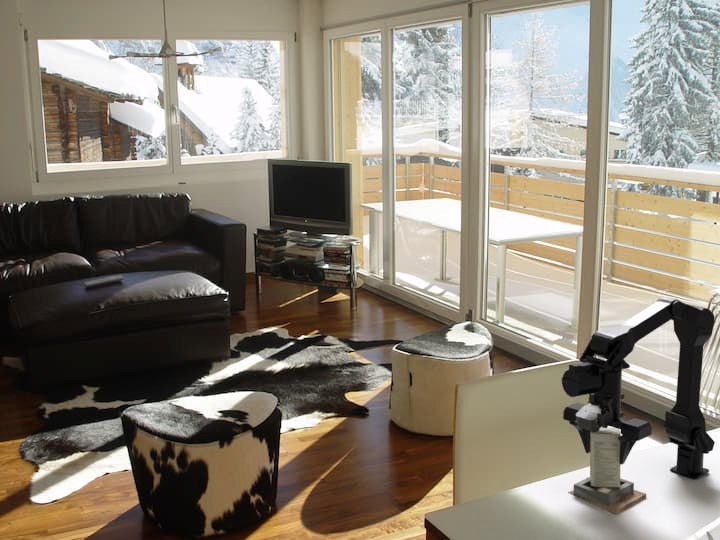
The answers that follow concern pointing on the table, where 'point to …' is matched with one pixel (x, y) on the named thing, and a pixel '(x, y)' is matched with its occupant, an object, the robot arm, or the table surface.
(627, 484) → the holder
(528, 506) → the table surface
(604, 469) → the skincare box
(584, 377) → the robot arm
